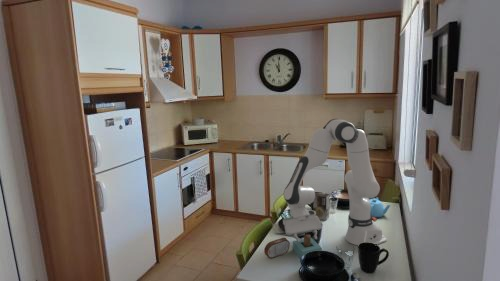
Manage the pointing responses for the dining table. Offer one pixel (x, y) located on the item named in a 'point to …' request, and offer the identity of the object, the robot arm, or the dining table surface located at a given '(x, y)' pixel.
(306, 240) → the walnut dowel
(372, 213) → the teapot
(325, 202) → the coffee box
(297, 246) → the teal square-hole block
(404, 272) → the dining table surface
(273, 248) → the tin
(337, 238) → the dining table surface
